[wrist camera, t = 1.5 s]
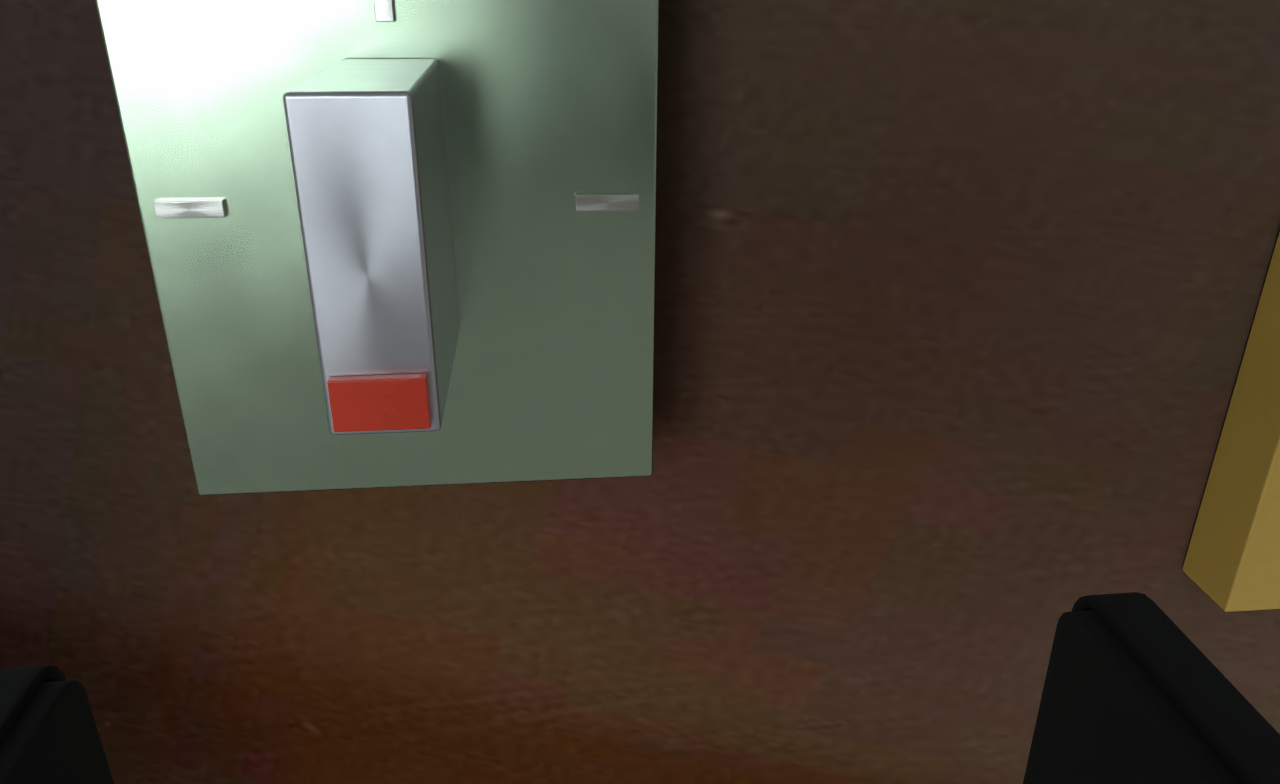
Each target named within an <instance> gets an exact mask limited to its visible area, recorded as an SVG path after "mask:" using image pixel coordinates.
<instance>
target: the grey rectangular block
mask: <svg viewBox="0 0 1280 784" xmlns="http://www.w3.org/2000/svg"><path fill="white" fill-rule="evenodd" d="M283 104H284V111H285V118H286V126H287V133H288V140H289V147H290V154H291V161H292V168H293V175H294V182H295V190H296V197H297V204H298V211H299V218H300V225H301V232H302V239H303V246H304V254H305V261H306V268H307V275H308V282H309V289H310V296H311V303H312V310H313V318H314V325H315V332H316V339H317V346H318V353H319V360H320V367H321V374H322V382H323V389H324V396H325V403H326V410H327V417H328V424H329V431H330V433H331V434H332V435H347V434H374V433H400V432H427V431H438V430H440V428H441V425H442V420H443V415H444V410H445V404H446V399H447V394H448V389H449V384H450V378H451V373H452V368H453V363H454V357H455V352H456V347H457V342H458V336H459V320H458V307H457V293H456V280H455V267H454V253H453V240H452V226H451V213H450V200H449V186H448V173H447V159H446V146H445V133H444V119H443V106H442V93H441V79H440V66H439V62H438V60H436V59H342V60H340V61H338V62H336V63H335V64H333V65H331V66H329V67H328V68H326V69H324V70H323V71H321V72H319V73H318V74H316V75H314V76H313V77H311V78H309V79H307V80H306V81H304V82H302V83H301V84H299V85H297V86H296V87H294V88H292V89H291V90H289V91H287V92H286V93H284V95H283Z"/></svg>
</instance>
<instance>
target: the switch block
mask: <svg viewBox="0 0 1280 784" xmlns="http://www.w3.org/2000/svg"><path fill="white" fill-rule="evenodd" d="M1182 570H1183V572H1184V573H1185V574H1186V575H1187V576H1188V577H1189V578H1191V579H1192V580H1193V581H1194V582H1195V583H1196V584H1197V585H1198V586H1199V587H1200V588H1201V589H1202V590H1203V591H1204V592H1205V593H1206V594H1207V595H1208V596H1209V597H1210V598H1211V599H1212V600H1213V601H1214V602H1215V603H1217V604H1218V605H1219V606H1220V607H1221V608H1222V609H1223V610H1224V611H1225V612H1233V611H1250V610H1266V609H1280V231H1279V235H1278V238H1277V242H1276V245H1275V249H1274V252H1273V255H1272V259H1271V262H1270V266H1269V269H1268V273H1267V276H1266V280H1265V283H1264V287H1263V290H1262V294H1261V297H1260V301H1259V304H1258V308H1257V311H1256V315H1255V318H1254V322H1253V325H1252V328H1251V332H1250V335H1249V339H1248V342H1247V346H1246V349H1245V353H1244V356H1243V360H1242V363H1241V367H1240V370H1239V374H1238V377H1237V381H1236V384H1235V388H1234V391H1233V395H1232V398H1231V402H1230V405H1229V408H1228V412H1227V415H1226V419H1225V422H1224V426H1223V429H1222V433H1221V436H1220V440H1219V443H1218V447H1217V450H1216V454H1215V457H1214V461H1213V464H1212V468H1211V471H1210V475H1209V478H1208V481H1207V485H1206V488H1205V492H1204V495H1203V499H1202V502H1201V506H1200V509H1199V513H1198V516H1197V520H1196V523H1195V527H1194V530H1193V534H1192V537H1191V541H1190V544H1189V548H1188V551H1187V554H1186V558H1185V561H1184V565H1183V568H1182Z"/></svg>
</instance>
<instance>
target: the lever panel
mask: <svg viewBox="0 0 1280 784" xmlns="http://www.w3.org/2000/svg"><path fill="white" fill-rule="evenodd" d="M95 2H96V7H97V12H98V16H99V21H100V26H101V31H102V35H103V40H104V45H105V50H106V54H107V59H108V64H109V69H110V74H111V78H112V83H113V88H114V93H115V97H116V102H117V107H118V112H119V116H120V121H121V126H122V131H123V136H124V140H125V145H126V150H127V155H128V159H129V164H130V169H131V174H132V178H133V183H134V188H135V193H136V198H137V202H138V207H139V212H140V217H141V221H142V226H143V231H144V236H145V240H146V245H147V250H148V255H149V260H150V264H151V269H152V274H153V279H154V283H155V288H156V293H157V298H158V302H159V307H160V312H161V317H162V322H163V326H164V331H165V336H166V341H167V345H168V350H169V355H170V360H171V364H172V369H173V374H174V379H175V384H176V388H177V393H178V398H179V403H180V407H181V412H182V417H183V422H184V426H185V431H186V436H187V441H188V446H189V450H190V455H191V460H192V465H193V469H194V474H195V479H196V484H197V488H198V493H199V495H218V494H241V493H264V492H287V491H311V490H334V489H357V488H380V487H403V486H427V485H450V484H473V483H496V482H520V481H543V480H566V479H589V478H612V477H636V476H651V475H652V465H653V397H654V328H655V260H656V191H657V123H658V55H659V0H95ZM342 59H436V60H438V62H439V66H440V79H441V93H442V106H443V119H444V133H445V146H446V159H447V173H448V186H449V200H450V213H451V226H452V240H453V253H454V267H455V280H456V293H457V307H458V320H459V336H458V342H457V347H456V352H455V357H454V363H453V368H452V373H451V378H450V384H449V389H448V394H447V399H446V404H445V410H444V415H443V420H442V425H441V428H440V430H438V431H427V432H400V433H374V434H347V435H332V434H331V433H330V431H329V424H328V417H327V410H326V403H325V396H324V389H323V382H322V374H321V367H320V360H319V353H318V346H317V339H316V332H315V325H314V318H313V310H312V303H311V296H310V289H309V282H308V275H307V268H306V261H305V254H304V246H303V239H302V232H301V225H300V218H299V211H298V204H297V197H296V190H295V182H294V175H293V168H292V161H291V154H290V147H289V140H288V133H287V126H286V118H285V111H284V104H283V95H284V93H286V92H287V91H289V90H291V89H292V88H294V87H296V86H297V85H299V84H301V83H302V82H304V81H306V80H307V79H309V78H311V77H313V76H314V75H316V74H318V73H319V72H321V71H323V70H324V69H326V68H328V67H329V66H331V65H333V64H335V63H336V62H338V61H340V60H342Z"/></svg>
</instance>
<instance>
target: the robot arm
mask: <svg viewBox="0 0 1280 784" xmlns="http://www.w3.org/2000/svg"><path fill="white" fill-rule="evenodd" d="M0 784H114V782H113V779H112V776H111V772H110V769H109V766H108V763H107V759H106V756H105V753H104V750H103V747H102V743H101V740H100V737H99V734H98V730H97V727H96V724H95V721H94V718H93V714H92V711H91V708H90V705H89V701H88V698H87V695H86V692H85V690H84V688H83V686H82V684H80V683H79V682H78V681H73V680H71V681H66V678H65V676H64V674H63V672H62V671H60V670H59V669H58V668H57V667H54V666H37V667H23V668H8V669H0ZM1023 784H1280V734H1279V733H1278V732H1277V731H1276V730H1275V729H1274V728H1273V727H1272V726H1271V725H1270V724H1269V723H1268V722H1267V721H1266V720H1265V719H1264V718H1263V717H1262V715H1261V714H1260V713H1259V712H1258V711H1257V710H1256V709H1255V708H1254V707H1253V706H1252V705H1251V704H1250V703H1249V702H1248V701H1247V700H1246V699H1245V698H1244V697H1243V695H1242V694H1241V693H1240V692H1239V691H1238V690H1237V689H1236V688H1235V687H1234V686H1233V685H1232V684H1231V683H1230V682H1229V681H1228V680H1227V679H1226V678H1225V676H1224V675H1223V674H1222V673H1221V672H1220V671H1219V670H1218V669H1217V668H1216V667H1215V666H1214V665H1213V664H1212V663H1211V662H1210V661H1209V660H1208V659H1207V658H1206V656H1205V655H1204V654H1203V653H1202V652H1201V651H1200V650H1199V649H1198V648H1197V647H1196V646H1195V645H1194V644H1193V643H1192V642H1191V641H1190V640H1189V639H1188V637H1187V636H1186V635H1185V634H1184V633H1183V632H1182V631H1181V630H1180V629H1179V628H1178V627H1177V626H1176V625H1175V624H1174V623H1173V622H1172V621H1171V620H1170V618H1169V617H1168V616H1167V615H1166V614H1165V613H1164V612H1163V611H1162V610H1161V609H1160V608H1159V607H1158V606H1157V605H1156V604H1155V603H1154V602H1153V601H1152V600H1151V599H1150V598H1148V597H1147V596H1146V595H1145V594H1141V593H1137V592H1134V593H1119V594H1104V595H1090V596H1084V597H1080V598H1079V599H1078V600H1077V601H1076V603H1075V604H1074V606H1073V609H1072V612H1066V613H1063V614H1062V615H1061V617H1060V618H1059V621H1058V624H1057V628H1056V633H1055V637H1054V642H1053V647H1052V651H1051V656H1050V661H1049V665H1048V670H1047V675H1046V679H1045V684H1044V689H1043V693H1042V698H1041V702H1040V707H1039V712H1038V716H1037V721H1036V726H1035V730H1034V735H1033V740H1032V744H1031V749H1030V754H1029V758H1028V763H1027V768H1026V772H1025V777H1024V782H1023Z"/></svg>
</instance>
